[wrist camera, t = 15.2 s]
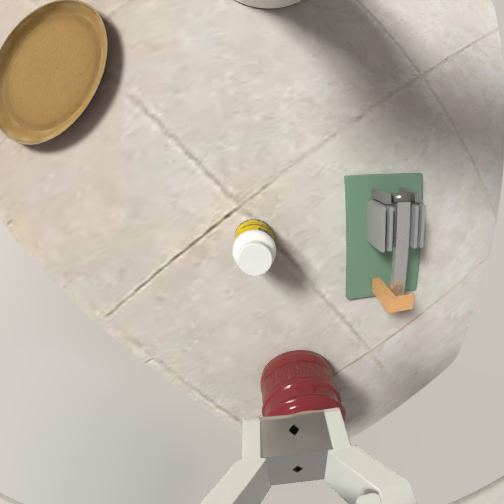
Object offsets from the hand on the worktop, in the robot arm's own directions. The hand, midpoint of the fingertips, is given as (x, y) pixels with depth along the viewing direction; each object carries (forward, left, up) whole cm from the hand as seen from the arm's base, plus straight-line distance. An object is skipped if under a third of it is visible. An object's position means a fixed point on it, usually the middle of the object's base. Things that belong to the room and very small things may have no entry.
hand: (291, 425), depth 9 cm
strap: (+7, +19, -32) cm, 38 cm away
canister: (+32, +4, -37) cm, 49 cm away
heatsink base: (+7, +19, -37) cm, 42 cm away
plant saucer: (-26, -30, -38) cm, 55 cm away
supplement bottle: (+5, -1, -37) cm, 38 cm away
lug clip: (+14, +19, -36) cm, 43 cm away
